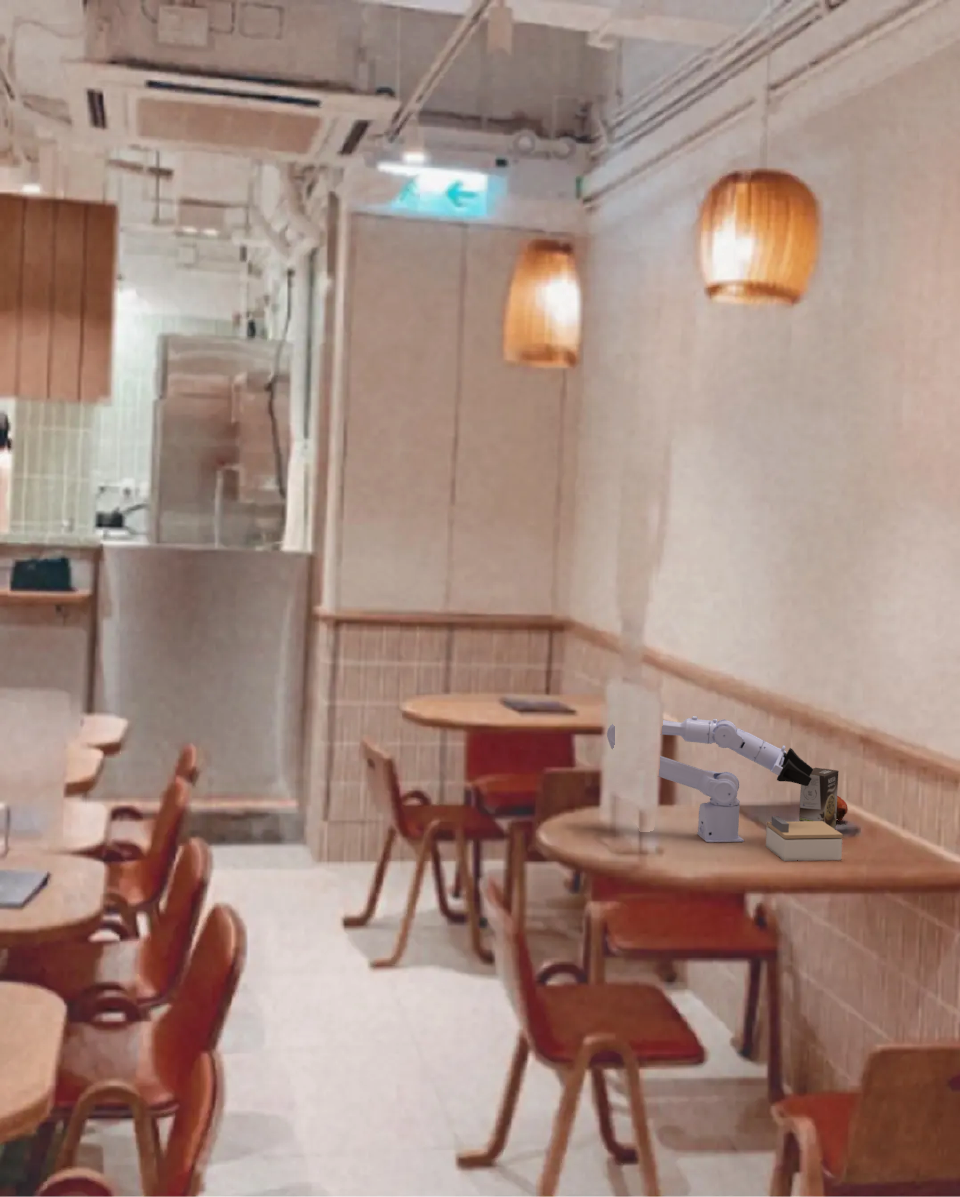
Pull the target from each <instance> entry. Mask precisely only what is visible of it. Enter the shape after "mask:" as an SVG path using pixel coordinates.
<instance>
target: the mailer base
mask: <svg viewBox="0 0 960 1197" xmlns="http://www.w3.org/2000/svg"><path fill="white" fill-rule="evenodd" d="M765 831H766V834H765V835H766V836H765V847H766V849H768V848H769V849H770V850H769V849H768V850H769V851H771V853H773V854H774V855H776V856H777V855H778V856H779V857H780V858H779V857H778V856H777V857H778V858H779V859H781V861H783V862H801V861H804V862H809V861H811V862H812V861H841V860H842V857H843V856H842V852H843V851H842V849H843V839H842V838H843V837H842V838H798V839H785V838H783V837H782V836H781V835H779V834H778V833H777V832H775V831H774V830H773V829H771V828H770V827H769V826H767V825H766V830H765ZM797 860H798V861H797Z"/></svg>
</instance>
